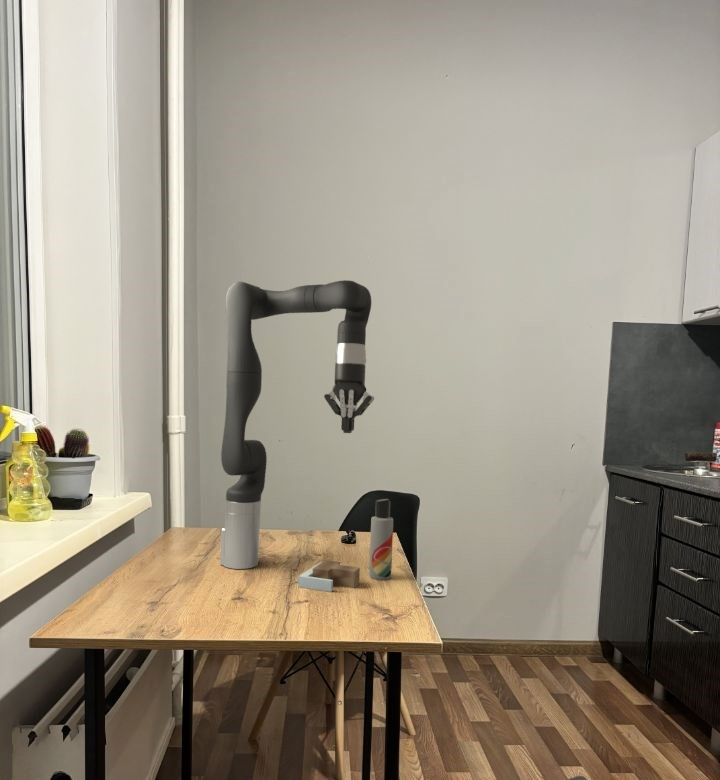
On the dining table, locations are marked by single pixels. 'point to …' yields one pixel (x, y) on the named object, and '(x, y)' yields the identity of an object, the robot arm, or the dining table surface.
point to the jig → (314, 581)
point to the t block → (338, 573)
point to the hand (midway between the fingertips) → (347, 432)
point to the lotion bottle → (381, 541)
